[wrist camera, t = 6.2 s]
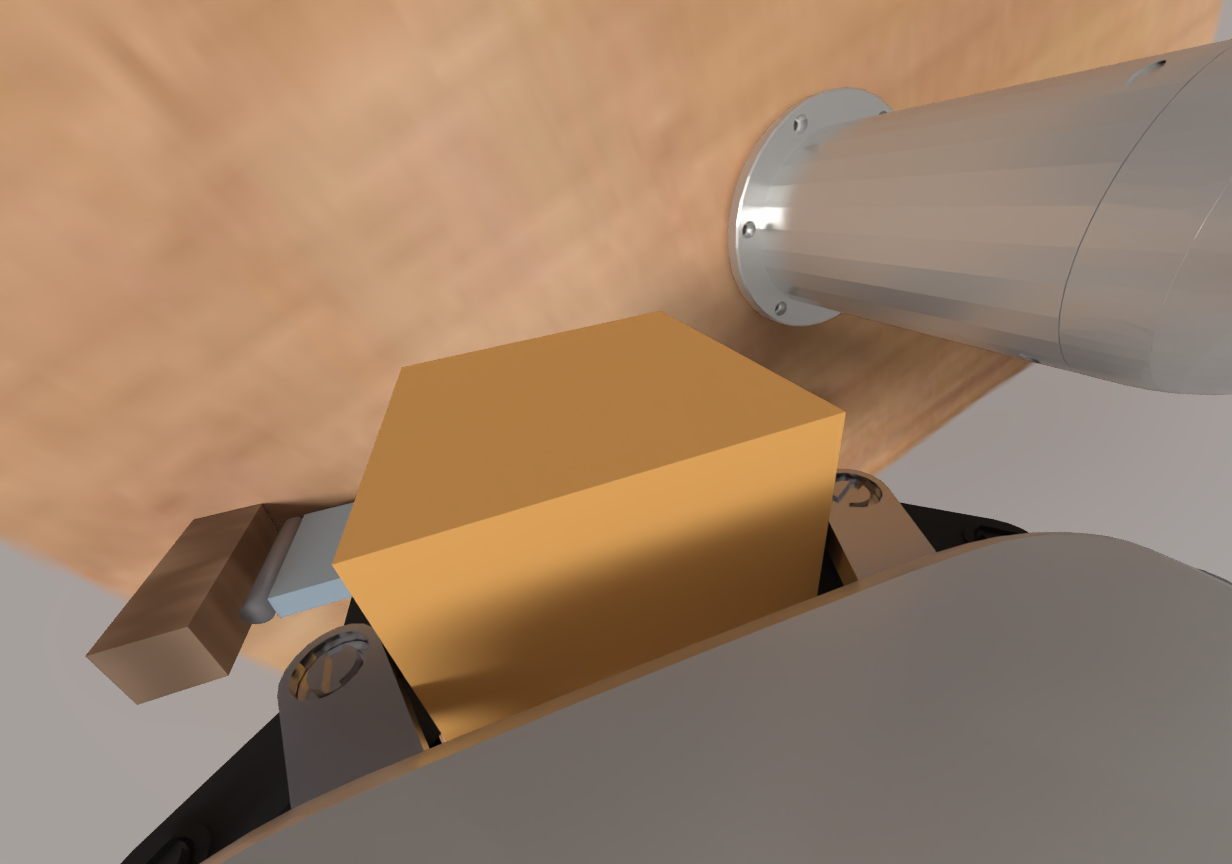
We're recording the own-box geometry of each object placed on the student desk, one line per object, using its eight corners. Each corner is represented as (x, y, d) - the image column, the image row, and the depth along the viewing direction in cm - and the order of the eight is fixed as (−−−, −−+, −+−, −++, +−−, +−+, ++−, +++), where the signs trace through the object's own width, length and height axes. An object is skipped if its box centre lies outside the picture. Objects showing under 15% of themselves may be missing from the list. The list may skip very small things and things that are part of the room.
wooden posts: (770, 384, 31) (860, 432, 24) (766, 421, 33) (850, 476, 26) (193, 519, 22) (85, 656, 15) (223, 562, 23) (136, 704, 17)
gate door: (288, 537, 23) (247, 627, 18) (278, 520, 23) (233, 608, 18) (648, 445, 29) (692, 495, 24) (647, 430, 28) (692, 477, 23)
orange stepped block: (402, 367, 9) (331, 565, 4) (660, 310, 10) (845, 411, 5) (522, 666, 15) (555, 907, 10) (683, 607, 16) (785, 793, 11)
